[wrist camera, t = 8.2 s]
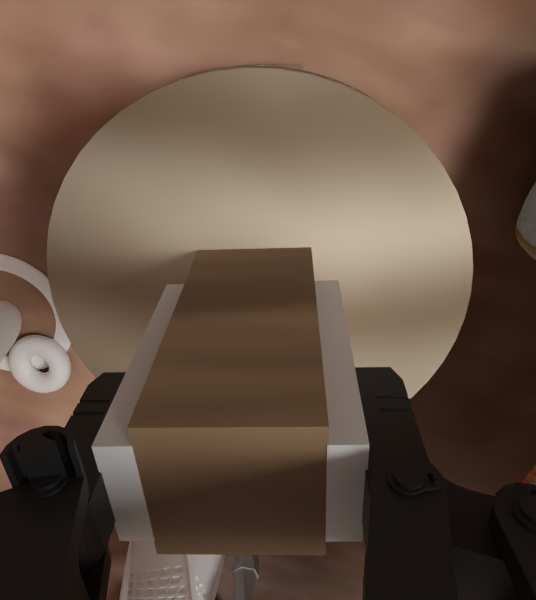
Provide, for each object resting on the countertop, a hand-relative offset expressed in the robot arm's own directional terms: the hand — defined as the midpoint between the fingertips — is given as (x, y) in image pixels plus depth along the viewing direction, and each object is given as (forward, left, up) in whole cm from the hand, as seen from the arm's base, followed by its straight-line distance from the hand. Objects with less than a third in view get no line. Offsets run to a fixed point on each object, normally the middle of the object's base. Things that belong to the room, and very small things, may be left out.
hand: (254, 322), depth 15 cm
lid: (0, 0, -4) cm, 4 cm away
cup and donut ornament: (+9, -17, -12) cm, 22 cm away
